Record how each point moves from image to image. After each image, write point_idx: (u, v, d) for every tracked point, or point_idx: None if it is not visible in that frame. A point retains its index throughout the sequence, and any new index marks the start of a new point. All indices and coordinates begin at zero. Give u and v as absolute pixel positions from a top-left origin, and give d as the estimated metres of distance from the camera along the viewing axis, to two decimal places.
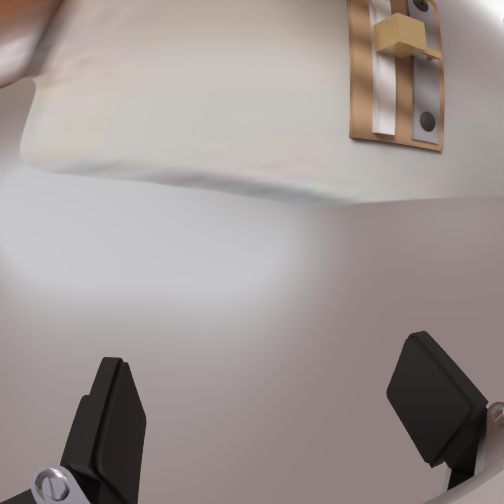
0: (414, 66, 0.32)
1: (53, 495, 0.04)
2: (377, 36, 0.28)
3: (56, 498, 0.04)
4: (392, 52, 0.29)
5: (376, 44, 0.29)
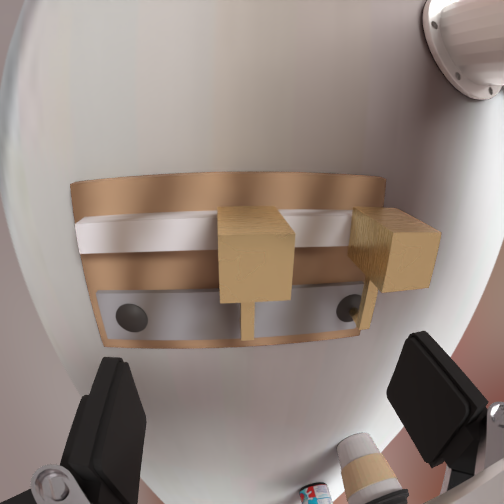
0: (219, 292, 0.25)
1: (52, 494, 0.04)
2: (246, 210, 0.20)
3: (56, 497, 0.04)
4: None
5: (230, 209, 0.20)
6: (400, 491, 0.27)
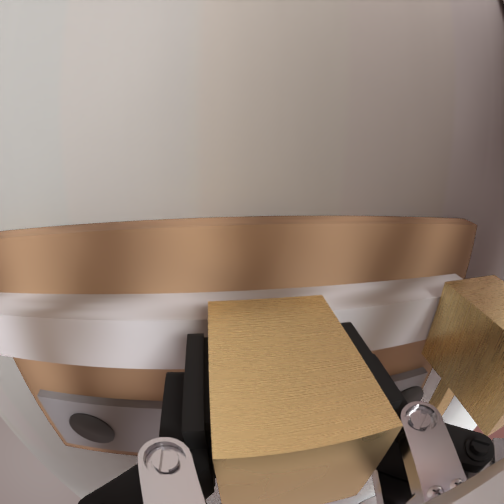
0: None
1: (159, 466, 0.05)
2: (269, 315, 0.09)
3: (162, 470, 0.05)
4: None
5: (235, 311, 0.10)
6: None
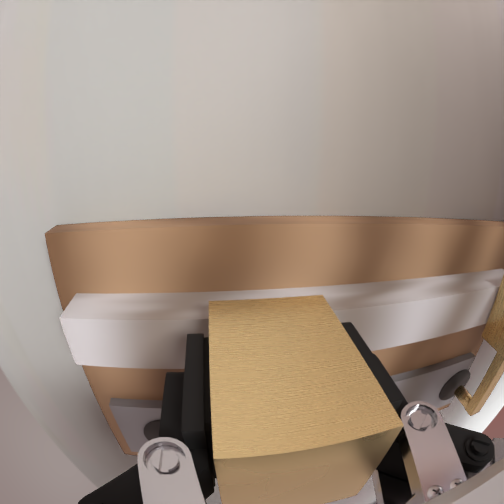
0: None
1: (158, 466, 0.05)
2: (269, 315, 0.09)
3: (161, 470, 0.05)
4: None
5: (235, 311, 0.10)
6: None
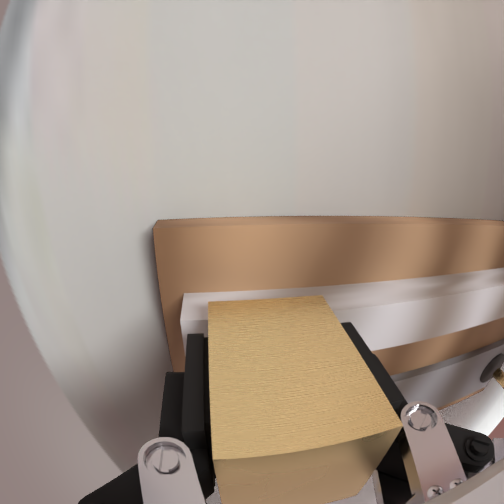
0: None
1: (158, 466, 0.05)
2: (269, 315, 0.09)
3: (161, 470, 0.05)
4: None
5: (235, 311, 0.10)
6: None
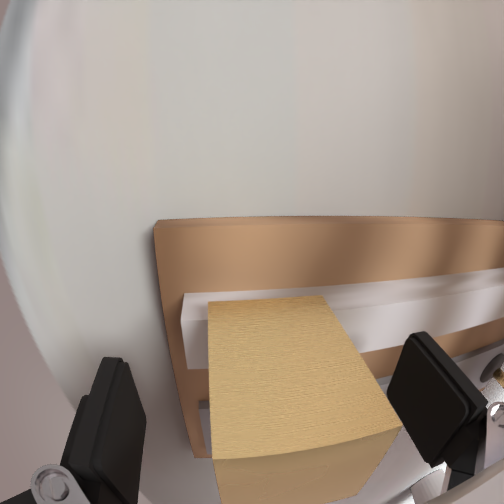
0: (388, 384, 0.16)
1: (52, 494, 0.04)
2: (269, 315, 0.09)
3: (56, 497, 0.04)
4: None
5: (234, 311, 0.10)
6: None
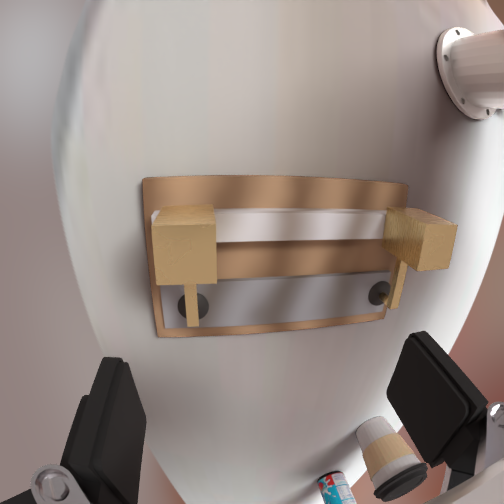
0: (276, 280, 0.29)
1: (53, 495, 0.04)
2: (185, 207, 0.23)
3: (56, 497, 0.04)
4: None
5: (172, 207, 0.23)
6: (421, 464, 0.31)
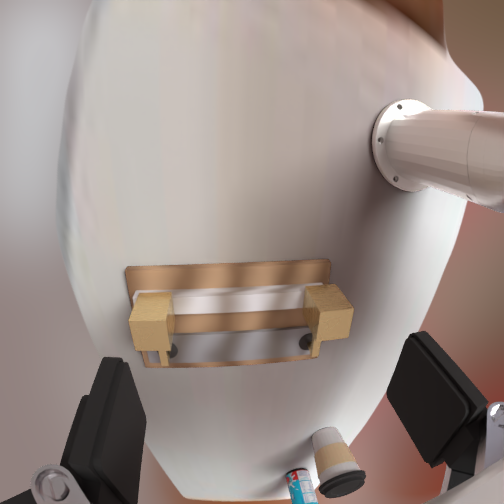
0: (223, 334, 0.40)
1: (53, 495, 0.04)
2: (153, 296, 0.34)
3: (56, 498, 0.04)
4: None
5: (144, 295, 0.34)
6: (357, 471, 0.42)
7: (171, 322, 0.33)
